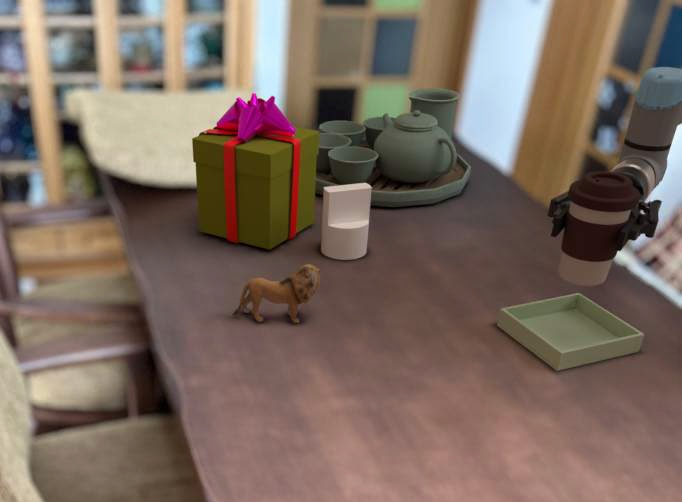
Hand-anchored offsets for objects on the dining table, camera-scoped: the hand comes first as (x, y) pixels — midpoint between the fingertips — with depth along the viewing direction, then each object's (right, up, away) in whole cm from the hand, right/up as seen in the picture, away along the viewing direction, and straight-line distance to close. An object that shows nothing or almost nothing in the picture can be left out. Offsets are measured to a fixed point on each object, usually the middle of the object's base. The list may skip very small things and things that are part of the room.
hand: (587, 234), depth 120 cm
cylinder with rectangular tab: (-32, +12, +41) cm, 54 cm away
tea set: (-21, +40, +73) cm, 85 cm away
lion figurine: (-45, -7, +20) cm, 50 cm away
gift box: (-50, +19, +49) cm, 72 cm away
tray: (+2, -12, +15) cm, 19 cm away
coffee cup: (+2, -4, +9) cm, 10 cm away
